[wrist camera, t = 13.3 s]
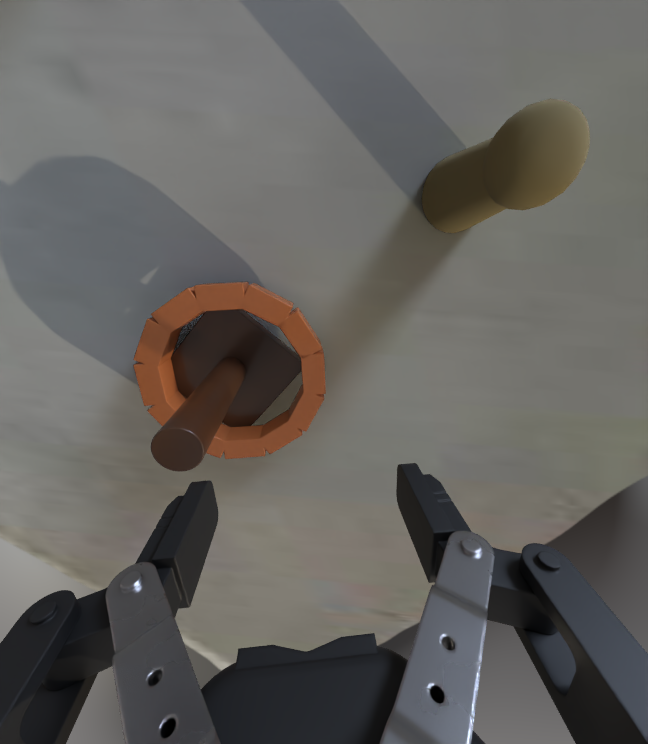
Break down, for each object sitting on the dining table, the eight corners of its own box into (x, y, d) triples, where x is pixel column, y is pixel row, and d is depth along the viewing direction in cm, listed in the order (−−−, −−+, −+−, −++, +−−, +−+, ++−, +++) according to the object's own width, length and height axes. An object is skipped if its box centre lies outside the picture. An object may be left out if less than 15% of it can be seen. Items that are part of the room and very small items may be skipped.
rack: (162, 371, 30) (41, 461, 16) (222, 293, 27) (144, 320, 14) (244, 428, 32) (202, 547, 19) (305, 361, 30) (307, 439, 17)
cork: (421, 236, 27) (495, 217, 17) (422, 157, 25) (506, 79, 15) (486, 229, 27) (600, 206, 17) (492, 150, 25) (626, 69, 15)
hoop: (129, 405, 29) (112, 418, 26) (184, 247, 25) (171, 245, 22) (280, 464, 32) (278, 480, 30) (352, 333, 28) (357, 340, 26)
